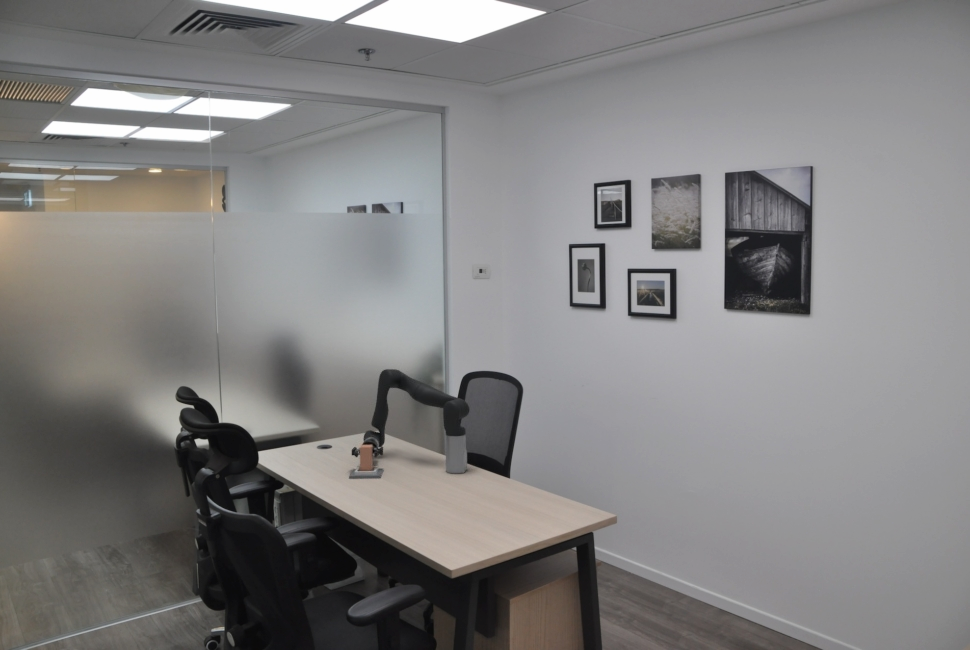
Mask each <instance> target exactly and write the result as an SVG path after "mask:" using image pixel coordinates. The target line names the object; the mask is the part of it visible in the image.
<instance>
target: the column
mask: <svg viewBox="0 0 970 650" xmlns="http://www.w3.org/2000/svg"><path fill="white" fill-rule="evenodd" d="M359 448H360V455H359V466H360V471H373V466H374V464H373V463H374V461H373V456H374V455H373V449H372V445H362V444H361V445H360V447H359Z"/></svg>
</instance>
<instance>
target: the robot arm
mask: <svg viewBox="0 0 970 650" xmlns="http://www.w3.org/2000/svg"><path fill="white" fill-rule="evenodd" d="M390 389H399V390H401V391H405V393H407V394H408V395H409V396H410V397H411V398H412V400H414V401H416V402H418V403H420V404H422V405H425V406H429V407H434V408H439V409H442V415H443V416H442V418H443V428H444V431H445V472H447V473H448V474H464V473H465V472H466V471H468V449H467V447H466V446H467V445H466V444H467V442H466V441H467V440H466V439H467V438H466V437H467V436H466V434H467V433H466V428H465V427H464V426H461V422H460V420H462V419H464V418H466V417H467V416H468V415H469V413H470V412H471V411H470V405H469V404H468V402H467V401H466V400H465V399H462V398H459V397H456V396H454V395H451V394H448V393H446V392H443V391H441V390H440V389H437V388H435V387H433V386H431V385H429V384H427V383H424V382H422V381H420V380H417V379H415V378H412V377H410V376H408V375H407V374H405V373H404V372H402V371H401V370H399V369H393V368H391V369H390V368H389V369H388V368H386V369H383V370H382V371H381V372H380V374H379V378H378V385H377V393H376V400H375V402H376V403H375V407H374V412H373V416H372V419H371V422H370V424H371V427H373V428H375V429H377V430H378V431H375V430H371V429H370V430H366V431H365V432H364V434H363V443H362V444H361V445H372V449H373V456H374V458H377V457H378V456H379V455H380V456H383V455H384V444H385V442H386V435H385V433H386V426H387V425H386V424H387V421H388V417H389V411H390V410H389V404H388V396H389V395H388V394H389V392H390ZM351 456H354V457H355V458H358V457H359V456H360V447H359V448H357V447H356V446H354V447H353V448H351Z"/></svg>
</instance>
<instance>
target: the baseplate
mask: <svg viewBox="0 0 970 650" xmlns="http://www.w3.org/2000/svg"><path fill="white" fill-rule="evenodd" d="M383 473H384V468H381V467H380V468H379V465H373V471H360V465H359V466H358V465H357V466H356V468H352V470H351V472H350V474H349V475H348V479H350V480H352V479H353V480H354V479H355V480H358V479H363V480H364V479H382V476H383Z"/></svg>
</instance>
